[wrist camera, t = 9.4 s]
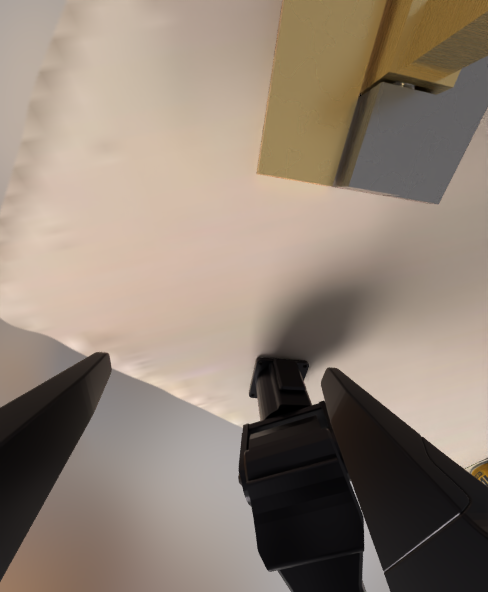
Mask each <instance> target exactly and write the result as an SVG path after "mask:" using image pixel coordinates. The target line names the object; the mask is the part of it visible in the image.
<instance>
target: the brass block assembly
mask: <svg viewBox="0 0 488 592" xmlns="http://www.w3.org/2000/svg"><path fill="white" fill-rule="evenodd" d="M486 56H488V0H283V1H282V8H281V14H280V21H279V28H278V34H277V41H276V48H275V54H274V61H273V68H272V74H271V81H270V88H269V94H268V101H267V108H266V114H265V121H264V128H263V134H262V141H261V148H260V154H259V161H258V168H257V174H260V175H266V176H272V177H277V178H283V179H289V180H295V181H301V182H306V183H312V184H318V185H324V186H333V183H334V179H335V176H336V172H337V169H338V165H339V162H340V159H341V155H342V152H343V148H344V145H345V141H346V138H347V135H348V131H349V128H350V124H351V121H352V117H353V114H354V111H355V107H356V104H357V100H358V97H359V94H363V95H364V94H365V93H367V92H368V91H369V90H371V89H372V88H374V87H375V86H377V85H378V84H380V83H381V82H385V83H389V84H391V83H392V82H394V81H395V80H396V81H400V82H404V83H408V84H413V85H416V86H415V89H414V90H418V91H422V92H427V93H431V94H435V95H437V94H439V93H442V92H444V91H446V90H448V89H451V88H453V87H454V85H455V82H456V80H457V78H458V75H459V73H460V71H461V69H462V68H464V67H466V66H468V65H470V64H472V63H474V62H476V61H478V60H480V59H482V58H484V57H486Z"/></svg>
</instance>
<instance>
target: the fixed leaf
mask: <svg viewBox="0 0 488 592" xmlns="http://www.w3.org/2000/svg"><path fill="white" fill-rule="evenodd" d="M415 86H416V85H413V84H408V83H404V82H400V81H396V80H395V81H394V82H392V83H391V84H389V83H385V82H381V83H380V84H378V85H377V86H375V87H374V88H372V89H371V90H369V91H368V92H367V93H365V94H364V95H362V96H361V97H359V98H358V100H357V104H356V107H355V111H354V114H353V117H352V121H351V124H350V128H349V131H348V135H347V138H346V141H345V145H344V148H343V152H342V155H341V159H340V162H339V165H338V169H337V172H336V176H335V179H334V183H333V186H332V187H337V188H342V189H348V190H354V191H360V192H366V193H371V194H377V195H383V196H389V197H395V198H400V199H406V200H412V201H418V202H423V203H430V204H439V202H440V200H441V198H442V196H443V194H444V192H445V190H446V188H447V186H448V184H449V182H450V181H451V179H452V177H453V175H454V173H455V171H456V169H457V167H458V165H459V163H460V161H461V159H462V157H463V155H464V153H465V151H466V149H467V147H468V145H469V143H470V141H471V139H472V137H473V135H474V133H475V131H476V129H477V127H478V125H479V123H480V121H481V119H482V117H483V115H484V113H485V111H486V109H487V107H488V56H486V57H484V58H482V59H480V60H478V61H476V62H474V63H472V64H470V65H468V66H466V67H464V68H462V69H461V71H460V73H459V75H458V78H457V80H456V82H455V85H454V87H453V88H451V89H448V90H446V91H444V92H442V93H439V94H437V95H435V94H431V93H427V92H422V91H418V90H414V89H415Z"/></svg>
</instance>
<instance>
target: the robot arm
mask: <svg viewBox="0 0 488 592" xmlns="http://www.w3.org/2000/svg"><path fill="white" fill-rule="evenodd" d="M308 368H309V364H308V362H307V361H300V360H286V359H272V358H258V359H257V360H256V363H255V368H254V372H253V377H252V381H251V385H250V390H249V396H250V397H251V398H258V406H259V413H260V421H259V422H255V423H252V424H245V425H243V433H242V440H241V450H240V460H239V476H238V478H239V483H240V484H241V485H242V487H243V491H244V495H245V498H246V499H247V502H248V504H249V505H250V506H251V507H252V512H253V517H254V525H255V532H256V539H257V548H258V552H259V554H260V556H261V558H262V560H263V562H264V564H265V567H266V568H267V570H268V571H269V572H272V571H276V570H277V571H278V572H279V574H280V575H281V577H282V578H283V580H284V581H285V583H286V585H287V586H288V587H289V589H290V591H291V592H366V590H365V587H364V584H363V581H362V565H363V551H364V521H363V515H364V518H365V521H366V524H367V526H368V529H369V532H370V535H371V538H372V540H373V543H374V546H375V549H376V552H377V554H378V557H379V560H380V563H381V566H382V568H383V571H384V575H385V577H386V580H387V583H388V586H389V589H390V592H488V486H487V485H485V484H484V483H483V482H481V481H480V480H478V479H477V478H476V477H474V476H473V475H472V474H470V473H469V472H468V471H466V470H465V469H464V468H462V467H461V466H459V465H458V464H457V463H455V462H454V461H453V460H451V459H450V458H449V457H448V456H446V455H445V454H444V453H442V452H441V451H440V450H439V449H437V448H436V447H435V446H434V445H432V444H431V443H430V442H429V441H427V440H426V439H425V438H424V437H421V435H420V434H419V433H417V432H416V431H415V430H414V429H412V428H411V427H410V426H409V425H407V424H406V423H405V422H404V421H402V420H401V419H400V418H399V417H397V416H396V415H395V414H394V413H392V412H391V411H390V410H389V409H387V408H386V407H385V406H384V405H382V404H381V403H380V402H379V401H377V400H376V399H375V398H374V397H372V396H371V395H370V394H369V393H367V392H366V391H365V390H364V389H363V388H361V387H360V386H359V385H358V384H356V383H355V382H354V381H353V380H351V379H350V378H349V377H348V376H346V375H345V374H344V373H343V372H341V371H340V370H339V369H337V368H327V369H326V371H325V373H324V376H323V378H322V381H321V387H322V391H323V395H324V399H325V401H321V402H319V403H318V404H315V405H312V403H311V401H310V398H309V395H308V393H307V390H306V386H305V384H304V378H305V376H306V373H307V370H308ZM111 370H112V368H111V362H110V356H109V354H108V353H105V352H96V353H94V354H92V355H90V356H89V357H87V358H85V359H84V360H82V361H80V362H78V363H77V364H75V365H73V366H72V367H70V368H68V369H66V370H65V371H63V372H61V373H59V374H58V375H56V376H54V377H52V378H51V379H49V380H47V381H45V382H44V383H42V384H41V385H39V386H37V387H35V388H33V389H32V390H30V391H28V392H27V393H25V394H23V395H21V396H20V397H18V398H16V399H14V400H13V401H11V402H9V403H7V404H6V405H4V406H2V407H1V408H0V581H1V580H2V578H3V576H4V574H5V572H6V571H7V569H8V567H9V565H10V563H11V562H12V560H13V558H14V556H15V554H16V553H17V551H18V549H19V547H20V545H21V544H22V542H23V540H24V538H25V536H26V534H27V533H28V531H29V529H30V527H31V526H32V524H33V522H34V520H35V518H36V517H37V515H38V513H39V511H40V509H41V508H42V506H43V504H44V502H45V500H46V498H47V497H48V495H49V493H50V491H51V490H52V488H53V486H54V484H55V482H56V481H57V479H58V477H59V475H60V473H61V472H62V470H63V468H64V466H65V464H66V463H67V461H68V459H69V457H70V455H71V453H72V452H73V450H74V448H75V446H76V445H77V443H78V441H79V439H80V437H81V436H82V434H83V432H84V430H85V428H86V427H87V425H88V423H89V421H90V419H91V417H92V415H93V414H94V411H95V409H96V407H97V405H98V402H99V400H100V398H101V395H102V393H103V391H104V388H105V386H106V384H107V381H108V379H109V377H110V374H111ZM350 481H352V484H353V487H354V490H355V493H356V495H357V498H358V501H359V504H360V506H359V504H358V501H357V499H356V497H355V494H354V491H353V489H352V486H351V484H350ZM360 507H361V509H360ZM361 510H362V512H363V515H362V512H361Z"/></svg>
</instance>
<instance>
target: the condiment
mask: <svg viewBox="0 0 488 592" xmlns="http://www.w3.org/2000/svg"><path fill="white" fill-rule="evenodd" d="M465 470H466V471H468V472H469V473H470V474H472V475H473V476H474V477H476V478H477V479H478V480H480V481H481V482H483V483H484V484H485V485H487V486H488V459H486V460H483V461H481V462H479V463H477V464H474V465H472V466H470V467H469V468H466V469H465Z"/></svg>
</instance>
